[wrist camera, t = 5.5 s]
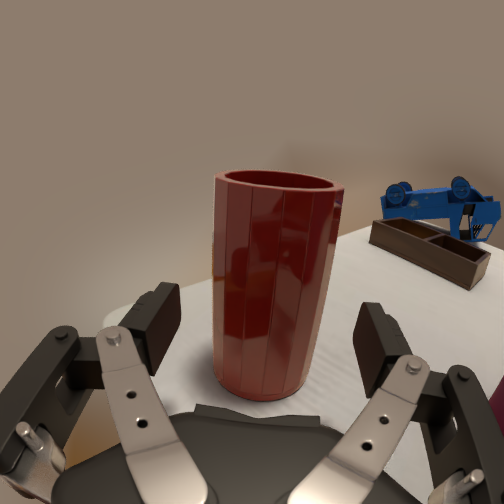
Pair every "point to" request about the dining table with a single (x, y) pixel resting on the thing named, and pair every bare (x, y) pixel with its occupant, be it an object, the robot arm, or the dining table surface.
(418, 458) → the dining table surface
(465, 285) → the caddy
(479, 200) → the toy vehicle
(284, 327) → the tumbler
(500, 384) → the cup
